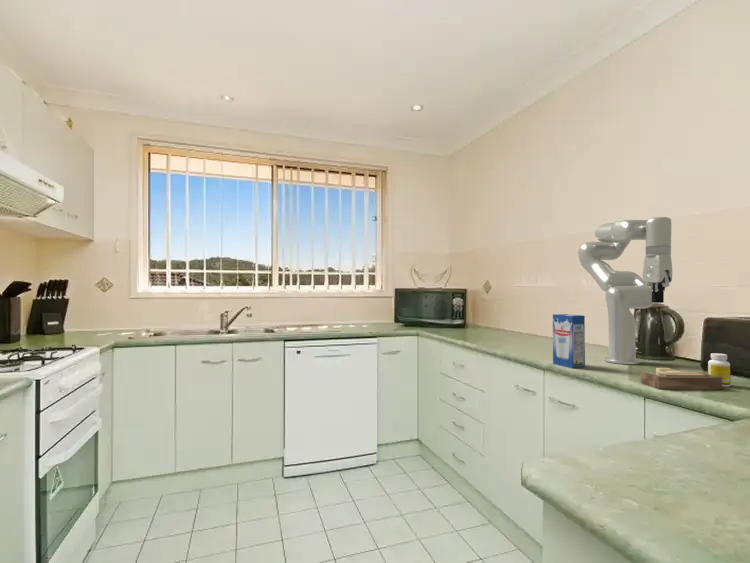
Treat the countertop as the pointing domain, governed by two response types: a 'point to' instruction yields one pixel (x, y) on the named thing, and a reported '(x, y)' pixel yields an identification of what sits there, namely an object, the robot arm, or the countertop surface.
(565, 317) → the milk carton
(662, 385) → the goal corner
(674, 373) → the t block
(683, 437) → the countertop surface
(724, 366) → the supplement bottle
